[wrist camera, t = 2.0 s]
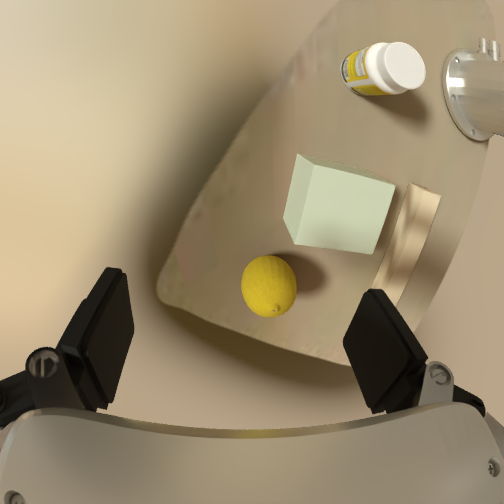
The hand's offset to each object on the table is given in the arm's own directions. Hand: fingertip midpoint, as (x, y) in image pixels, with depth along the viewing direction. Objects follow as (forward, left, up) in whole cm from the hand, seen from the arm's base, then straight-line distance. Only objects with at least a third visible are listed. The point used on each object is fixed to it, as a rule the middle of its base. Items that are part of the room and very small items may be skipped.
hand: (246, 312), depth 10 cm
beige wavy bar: (+6, +21, -19) cm, 28 cm away
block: (0, +9, -19) cm, 21 cm away
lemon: (+9, +4, -19) cm, 21 cm away
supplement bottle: (-14, +10, -19) cm, 26 cm away
